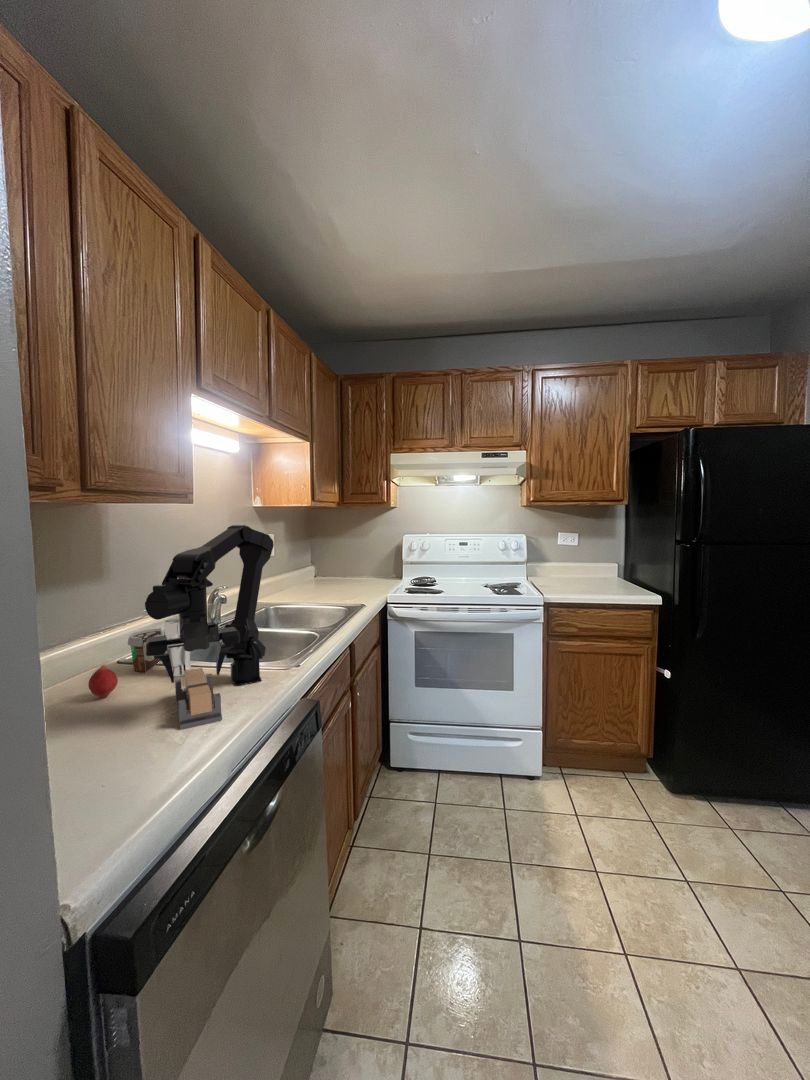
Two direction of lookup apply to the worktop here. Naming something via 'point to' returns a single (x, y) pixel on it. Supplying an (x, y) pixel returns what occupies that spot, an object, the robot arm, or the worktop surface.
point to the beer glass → (176, 648)
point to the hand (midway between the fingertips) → (195, 678)
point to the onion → (102, 682)
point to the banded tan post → (197, 691)
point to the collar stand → (199, 719)
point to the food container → (142, 650)
